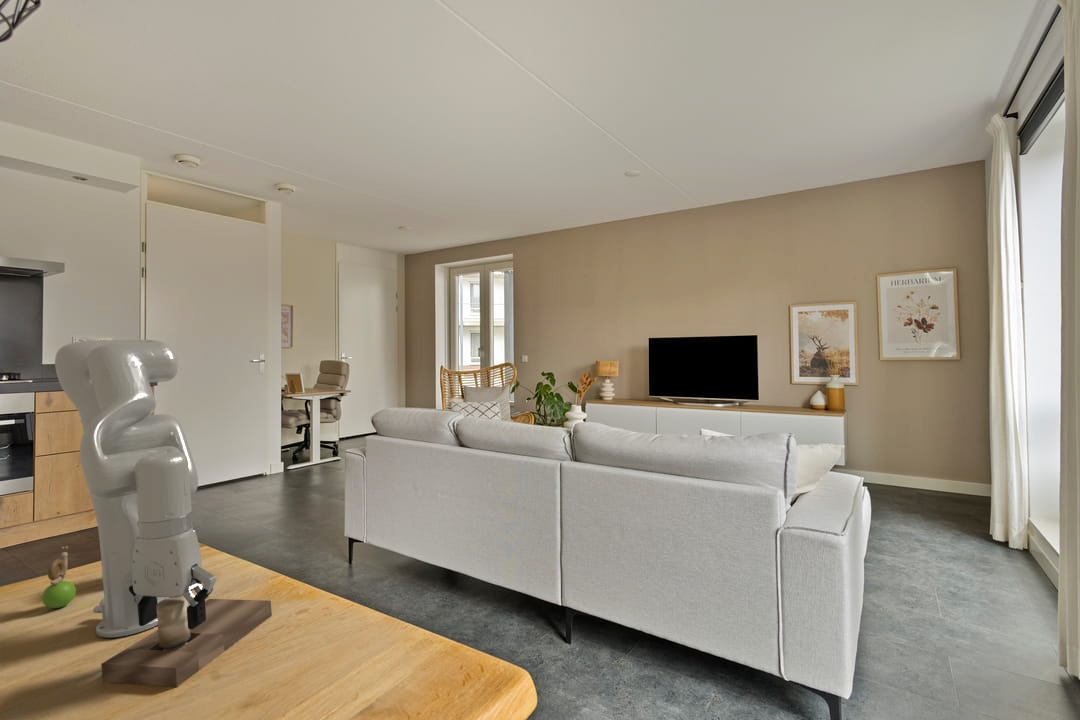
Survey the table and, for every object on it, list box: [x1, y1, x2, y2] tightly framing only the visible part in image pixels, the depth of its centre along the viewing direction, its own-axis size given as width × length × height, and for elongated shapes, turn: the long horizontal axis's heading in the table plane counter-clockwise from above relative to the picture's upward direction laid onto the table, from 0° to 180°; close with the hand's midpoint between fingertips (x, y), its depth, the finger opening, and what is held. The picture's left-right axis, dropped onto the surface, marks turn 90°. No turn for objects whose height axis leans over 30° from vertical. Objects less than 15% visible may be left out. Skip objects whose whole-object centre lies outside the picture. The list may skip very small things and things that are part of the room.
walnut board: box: [100, 598, 273, 688], centre depth 95 cm, size 14×22×3 cm, turn 170°
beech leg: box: [156, 595, 191, 651], centre depth 91 cm, size 4×4×10 cm
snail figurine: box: [41, 546, 77, 609], centre depth 115 cm, size 5×6×12 cm
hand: (172, 623), depth 91 cm, fingers open, 9 cm apart
